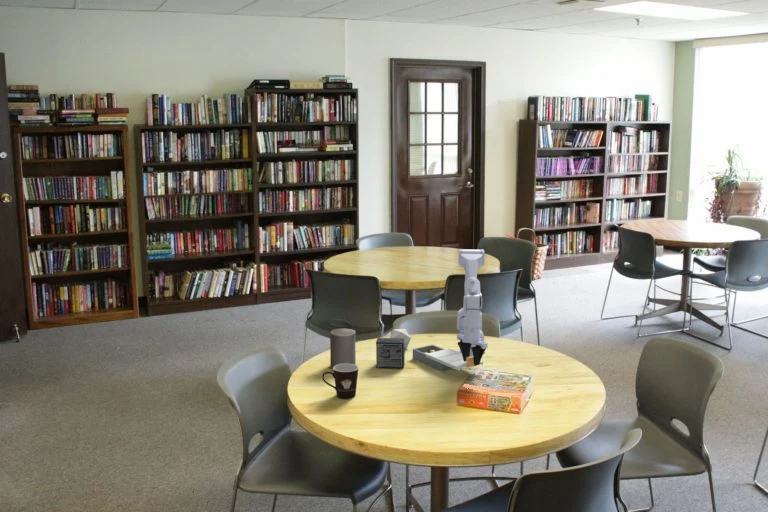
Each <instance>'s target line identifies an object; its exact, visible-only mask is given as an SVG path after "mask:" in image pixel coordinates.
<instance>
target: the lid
mask: <svg viewBox="0 0 768 512" xmlns="http://www.w3.org/2000/svg"><path fill="white" fill-rule="evenodd" d="M444 349H445V348H444ZM426 357H427V358H430V359H432V360H434V361H437V362H439V363H442V364H444V365H446V366H449V367H451V368H453V370H456V371H460V370H461V369H465V368H472V367H476V366H475V365H474V358H473V356H470V357H466V361H464V360H463V356H462V353H460V352H457V351H456V349H455V350H454V349H452V348H446V349H445V350H440V351H436V352H432V353H427V354H426ZM483 364H484V361H483V360H481V361H480V365H481V366H483Z"/></svg>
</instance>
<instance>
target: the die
mask: <svg viewBox="0 0 768 512" xmlns="http://www.w3.org/2000/svg"><path fill="white" fill-rule="evenodd" d="M389 338H404V350H407V349H408V346H409V344H410V342H411V339H412V337H411V335H410V334H409V333H408V331H407V329H406V328H398V329H397V328H396V329H395V328H394V329H392V331H391V334H390V337H389Z"/></svg>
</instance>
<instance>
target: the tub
mask: <svg viewBox="0 0 768 512" xmlns="http://www.w3.org/2000/svg"><path fill="white" fill-rule="evenodd" d="M440 350H445V348H443V347H440V346H437V345H436V344H429V345H425V346H421V347H415V348H412V360H414V361H417V362H419V363H421V364H424V365H426V366H428V367H431V368H433V369H435V370H437V371H440V372H445V371H449V370H452V369H453V368H451V367H449V366H446V365H444V364H442V363H439V362H437V361H434V360H432V359H430V358H427V357H426V354H427V353H432V352H436V351H440ZM453 370H454V369H453Z"/></svg>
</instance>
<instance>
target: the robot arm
mask: <svg viewBox="0 0 768 512" xmlns="http://www.w3.org/2000/svg"><path fill="white" fill-rule="evenodd" d="M484 265H485V250H484V249H483V248H481V249H466V248H465V249H464V248H462V249H461V248H459V250H458V266H459V267H460V268H462V269H463V270H464V282H463V283H464V295H463V307H461V308H460V309H459V310H458V311H457V316H456V317H457V318H456V329H457V330H458V331H459V333H457V334H456V340H458V342H457V346H458V348H459V349H455V351H457V352H460V353H462V356H463V360H464V361H466V357H470V356H473V358H474V365H475V366H474V367H478V366H480V365H481V364H480V361H482V357H483V355H484V354H485V353H486V350H487V349H488V346H489V345H488V342H486V341H485V334H484V331H482V329H483V315H482V311H481V310H482V308H483V295H482V292H481V282H480V280H479V279H478V269H480V268H483V266H484Z"/></svg>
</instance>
